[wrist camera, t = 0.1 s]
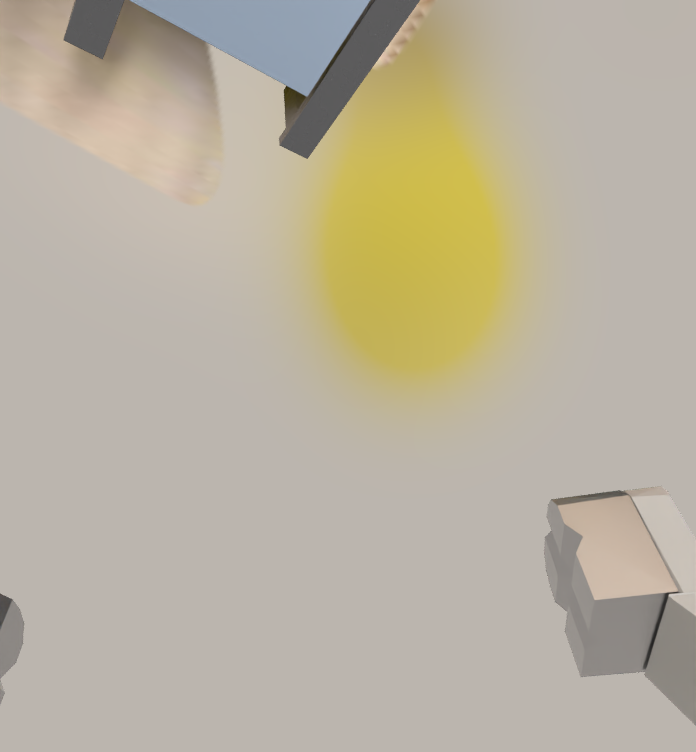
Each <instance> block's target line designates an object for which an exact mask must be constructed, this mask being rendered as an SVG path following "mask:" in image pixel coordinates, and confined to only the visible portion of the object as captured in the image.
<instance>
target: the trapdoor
mask: <svg viewBox="0 0 696 752" xmlns="http://www.w3.org/2000/svg"><path fill="white" fill-rule="evenodd" d="M130 1H131V2H133V3H135V4H137V5H139V6H141V7H143V8H144V9H146V10H148V11H150V12H152V13H154V14H155V15H157V16H159V17H161V18H163V19H165V20H166V21H168V22H170V23H172V24H174V25H176V26H178V27H179V28H181V29H183V30H185V31H187V32H189V33H190V34H192V35H194V36H196V37H198V38H200V39H202V40H203V41H205V42H207V43H209V44H211V45H213V46H214V47H216V48H218V49H220V50H222V51H224V52H226V53H228V54H229V55H231V56H233V57H235V58H237V59H239V60H240V61H242V62H244V63H246V64H248V65H249V66H251V67H253V68H255V69H257V70H259V71H261V72H263V73H264V74H266V75H268V76H270V77H272V78H274V79H275V80H277V81H279V82H281V83H283V84H284V85H286V86H288V87H290V88H292V89H294V90H296V91H297V92H299V93H301V94H303V95H305V96H308V95H309V93H310V92H311V90H312V89H313V87H314V86H315V84H316V83H317V81H318V80H319V78H320V77H321V75H322V73H323V72H324V70H325V69H326V67H327V66H328V64H329V63H330V61H331V60H332V58H333V57H334V55H335V54H336V52H337V50H338V49H339V47H340V46H341V44H342V43H343V41H344V40H345V38H346V37H347V35H348V34H349V32H350V31H351V29H352V27H353V26H354V24H355V23H356V21H357V20H358V18H359V17H360V15H361V14H362V12H363V11H364V9H365V8H366V6H367V5H368V3H369V1H370V0H130Z"/></svg>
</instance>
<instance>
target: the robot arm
mask: <svg viewBox="0 0 696 752" xmlns="http://www.w3.org/2000/svg"><path fill="white" fill-rule="evenodd" d="M547 519H548V522H549V524H550V527H551V530H552V531H551V532H550V533H549V534H548V535H547V536H546V537H545V547H544V548H545V549H544V555H545V562H546V572H547V576H548V579H549V584H550V587H551V590H552V593H553V596H554V600H555V602H556V603H557V604H558V605H560V606H561V607H562V608H563V609H564V610H566V611H567V620H566V628H565V632H566V635H567V638H568V641H569V644H570V647H571V650H572V653H573V656H574V659H575V662H576V664H577V667H578V670H579V673H580V676H581V677H586V676H598V675H611V674H623V673H636V672H645V676H646V677H647V678H648V679H649V680H650V681H651V682H652V683H653V684H654V685H655V686H656V687H657V688H658V689H659V690H660V691H661V692H662V693H663V694H664V695H665V696H666V697H667V698H668V699H669V700H670V701H671V702H672V703H673V704H674V705H675V706H677V708H678V709H679V710H680V711H681V712H682V713H684V714H685V715H686V716H687V717H688V718H689V719H690V720H691V721H692V722H693V723H694V724H695V725H696V538H695V537H694V535H693V533H692V532H691V530H690V528H689V527H688V525H687V523H686V521H685V520H684V518H683V516H682V515H681V513H680V511H679V510H678V508H677V506H676V504H675V503H674V501H673V499H672V498H671V496H670V494H669V493H668V491H666V490H665V489H664V488H662V487H661V486H659V487H650V488H642V489H633V490H626V491H620V490H618V491H612V492H603V493H596V494H588V495H581V496H574V497H566V498H558V499H552V500H551V501H550V502H549V504H548V511H547ZM23 631H24V621H23V618H22V615H21V612H20V609H19V607H18V606H17V605H16V603H15V602H14V601H13V600H12V599H10V598H8V597H6V596H4V595H2V594H0V678H1V677H2V676H3V675H4V674H5V673H6V672H7V671H8V670H9V669H10V668H11V667H12V666H13V665H14V664H15V663H16V661H17V658H18V656H19V653H20V650H21V647H22V644H23ZM3 696H4V690H3V687H2V684H1V681H0V704H1V701H2V699H3Z"/></svg>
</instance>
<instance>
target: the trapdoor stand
mask: <svg viewBox="0 0 696 752" xmlns="http://www.w3.org/2000/svg"><path fill="white" fill-rule="evenodd" d="M419 1H420V0H370V1H369V3H368V5H367V6H366V8H365V9H364V11H363V12H362V14H361V15H360V17H359V18H358V20H357V21H356V23H355V24H354V26H353V27H352V29H351V31H350V32H349V34H348V35H347V37H346V38H345V40H344V41H343V43H342V44H341V46H340V47H339V49H338V50H337V52H336V54H335V55H334V57H333V58H332V60H331V61H330V63H329V64H328V66H327V67H326V69H325V70H324V72H323V73H322V75H321V77H320V78H319V80H318V81H317V83H316V84H315V86H314V87H313V89H312V90H311V92H310V93H309V95H308V96H305V95H303V94H301V93H299V92H297V91H296V90H294V89H292V88H290V87H288V86H286V88H285V89H284V101H285V120H286V129H285V130H284V132H283V133H282V135H281V136H280V138H279V140H280V146H282V147H284V148H286V149H288V150H290V151H293V152H294V153H297V154H298V155H301V156H303V157H305V158H308V157H309V156H310V154H311V153H312V152H313V150H314V149H315V147H316V146H317V144H318V143H319V142H320V140H321V139H322V138H323V136H324V135H325V133H326V132H327V130H328V129H329V128H330V126H331V125H332V123H333V122H334V121H335V119H336V118H337V116H338V115H339V114H340V112H341V111H342V109H343V108H344V107H345V105H346V104H347V102H348V101H349V100H350V98H351V97H352V95H353V94H354V92H355V91H356V90H357V88H358V87H359V85H360V83H362V81H363V80H364V78H365V77H366V75H367V74H368V73H369V71H370V70H371V69H372V67H373V66H374V64H375V63H376V62H377V60H378V59H379V57H380V56H381V54H382V53H383V52H384V50H385V49H386V47H387V46H388V45H389V43H390V42H391V40H392V39H393V38H394V36H395V35H396V33H397V32H398V31H399V29H400V28H401V26H402V25H403V24H404V22H405V21H406V19H407V18H408V16H409V15H410V14H411V12H412V11H413V9H414V8H415V7H416V5H417V4H418V2H419ZM123 2H124V0H75V2H74V6H73V9H72V13H71V16H70V20H69V23H68V27H67V30H66V33H65V37H64V41H66V42H68V43H70V44H72V45H74V46H77V47H79V48H81V49H83V50H85V51H87V52H89V53H91V54H93V55H95V56H97V57H99V58H101V59H103V57H104V54H105V51H106V48H107V46H108V43H109V40H110V38H111V35H112V32H113V29H114V27H115V24H116V21H117V19H118V16H119V13H120V10H121V8H122V5H123Z"/></svg>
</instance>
